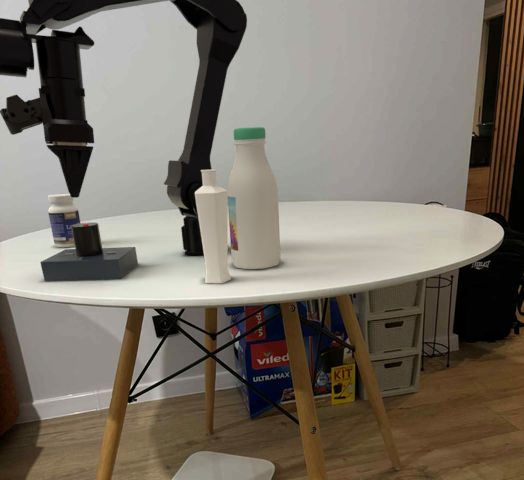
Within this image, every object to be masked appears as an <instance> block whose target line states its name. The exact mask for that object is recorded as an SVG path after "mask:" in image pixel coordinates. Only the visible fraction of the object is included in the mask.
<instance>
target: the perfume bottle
mask: <svg viewBox="0 0 524 480" xmlns="http://www.w3.org/2000/svg"><path fill="white" fill-rule="evenodd" d="M216 171H217V169H214V168H213V169H209V170H201V172H202V181H203V186H202V187H200V188H199V189H198V190H197V191H195V199H196V205H197V212H198V219H199V225H200V232H201V238H202V245H203V251H204V254H203V257H204V263H205V269H206V270H205V279H204V281H205V282H204V283H205V284H224V283H226V282H228V281H230V280H232V276H231V275H230V272H229V267H228V265H229V263H228V262H229V261H228V259H229V258H228V256H229V255H228V254H229V253H228V252H229V250H228V248H229V245H228V241H229V239H228V238H229V237H228V234H229V233H228V230H229V229H228V228H229V227H228V226H229V225H228V224H229V212H228V189H225V188H223V187H221V186H219V185H217V174H216Z"/></svg>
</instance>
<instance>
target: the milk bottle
mask: <svg viewBox="0 0 524 480" xmlns="http://www.w3.org/2000/svg"><path fill="white" fill-rule="evenodd" d="M233 140H234V146H235V156H234V157H235V158H234V161H233V165H232V168H231V171H230V174H229V177H228V183H227V191H228V224H229V225H228V226H229V227H228V228H229V239H230V241H229V242H230V252H231V253H230V256H231V262H232V265H233V266H234V267H236V268H239V269H245V270H260V269H267V268H272V267H276V266H277V265H279V264H280V262H281V237H280V211H279V194H278V185H277V180H276V179H277V178H276V177H275V173H274V171H273V170H272V168H271V165H270V163H269V161H268V157H267V153H266V150H265V144H266V143H267V142H266V127H262V126H255V127H254V126H253V127H238V128H234V129H233Z"/></svg>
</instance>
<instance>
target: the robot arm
mask: <svg viewBox="0 0 524 480" xmlns="http://www.w3.org/2000/svg"><path fill="white" fill-rule="evenodd" d="M27 1H28V7H27V9H26V10H22V12H21V15H20V17H19V20H18V19H11V18H10V19H9V18H4V17H3V18H2V17H0V76H4V77H16V78H27V75H28V70H31V71H34V70H35V53H34V47H33V44H35V50H36V58H37V66H38V74H39V81H40V87H38V94H39V96H38V97H37V98H33V99H28V100H26V101H25V100H24V99H23V98H21V97H20V96H19V95H18V94H13V95H11V96H7V97H6V98H5V103H6V104H5V108H1V109H0V115H1V118H2V119H3V121H4V124H5V125H6V127H7V130H8V131H9V133H10V135H12V136H14V135H18V134H21V133H22V132H23V131H25V130H29V129H30V128H31V129H32V128H33V127H36V126H40V125H42V126H43V127H42V128H43V133H44V134H43V136H44V142H45V144H46V147H47V149H48V150H50V152H51V153H53V154H54V155H55V157H57V158H58V162H59V165H60V168H61V171H62V175H63V177H64V181H65V184H66V188H67V191H68V194H70V196H71V197H72V198H73V199H75V198H79V197H80V195H81V192H82V191H81V190H82V187H83V184H84V180H85V178H86V174H87V171H88V167H89V164H90V161H91V157H92V154H93V150H94V146H91V145H88V144H93V145H94V144H95V135H94V128H93V126H91V125H90V124H89V123H88V120H87V113H86V102H85V98H86V90H85V88H84V81H83V80H84V79H83V68H82V57H81V50H90V49H91V48H92V47H94V46H95V41H94V39H92V38H91V37H90V36H89V35H88V33H86V31H85V30H84V29H83V27H82V26H78V27H77V28H76V29H75V30H74V32H73V31H66V30H61V29H64V28H67V27H69V26H71V25H74V24H77V23H79V22H81V21H84V20H85V19H87V18H89V17H92V16H93V15H96V14H98V13H101V12H106V11H113V10H119V9H125V8H132V7H138V6H144V5H150V4H156V3H162V2H163V3H164V2H168V1H169V2H170V3H171V4H173V5H174V6H175V7H176V8H177V10H178V11H179V12H180V14H181V15H182V17H183V18H184V19H185V21H186V22H187V23H188V24H190V25H191V26H192V27H193V28H194V29H195V30H196V48H197V49H196V50H197V53H198V54H197V55H198V60H199V62H198V63H199V64H198V69H197V73H196V74H197V75H196V80H195V85H194V91H193V96H192V102H191V108H190V111H189V117H188V123H187V129H186V134H185V138H184V145H183V149H182V152H181V155H180V156H179V158H178V159H177V160H172V159H170V160H169V161H168V163H167V176H166V179H165V181H164V182H163V185H165V186H166V195H167V197H168V199H169V200H170V202H171V203H172V204H173V205H174V206H175V207H177V208H178V210H179V213H180V215H181V216H183V219H182V220H183V225H182V226H181V227H180V228H181V229H180V230H181V231H180V232H181V239H182V247H183V248H182V249H183V250H184V256H200V255H201V256H202V255H203V256H204V251H203V245H202V238H201V232H200V225H199V219H198V212H197V205H196V199H195V191H197V190H198V189H199V188H200V187H202V186H203V181H202V172H201V170H209V169H212V162H211V153H212V149H213V143H214V139H215V136H216V135H215V134H216V130H217V124H218V120H219V119H218V118H219V115H220V108H221V104H222V99H223V95H224V89H225V84H226V79H227V74H228V70H229V67H230V65H231V63H232V61H233V60H234V58H235V56H236V54H237V53H238V51H239V49H240V47H241V44H242V42H243V38H244V35H245V33H246V30H247V27H248V16H247V15H248V14H247V13H246V12H245V9H244V7H243V6H242V4H241V3H240V1H238V0H27ZM46 29H50V30H51V33H50V35H39V34H40V33H41V32H42V31H44V30H46Z"/></svg>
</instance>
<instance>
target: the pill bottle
mask: <svg viewBox="0 0 524 480" xmlns="http://www.w3.org/2000/svg"><path fill="white" fill-rule="evenodd" d="M47 199H48V202H49V203H50V206H49V208H48V210H47V212H48V213H47V214H48V218H49V223H50V229H51V234H52V239H53V243H54V246H55V247H57V248H72V247H75V244H74V239H73V234H72V229H71V226H72V225H74V224H79V223H81V217H80V212H79V208H78V206H76V205H75V204H74V199H75V198H72V197H71V196H70V193H60V194H59V193H58V194H48V195H47Z"/></svg>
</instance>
